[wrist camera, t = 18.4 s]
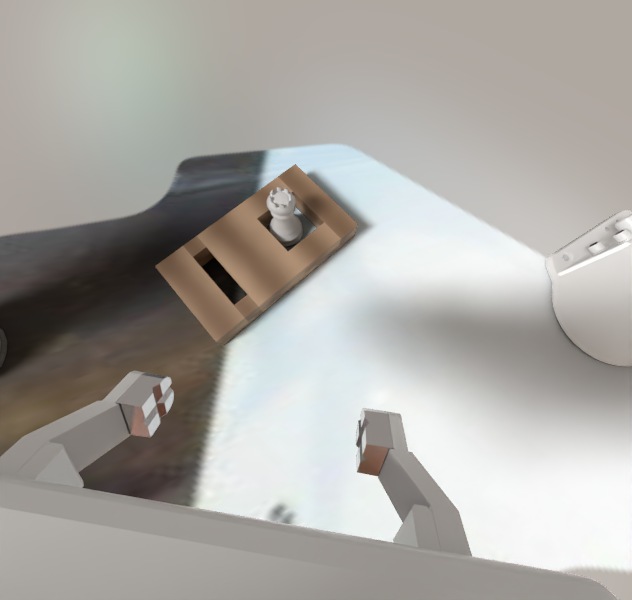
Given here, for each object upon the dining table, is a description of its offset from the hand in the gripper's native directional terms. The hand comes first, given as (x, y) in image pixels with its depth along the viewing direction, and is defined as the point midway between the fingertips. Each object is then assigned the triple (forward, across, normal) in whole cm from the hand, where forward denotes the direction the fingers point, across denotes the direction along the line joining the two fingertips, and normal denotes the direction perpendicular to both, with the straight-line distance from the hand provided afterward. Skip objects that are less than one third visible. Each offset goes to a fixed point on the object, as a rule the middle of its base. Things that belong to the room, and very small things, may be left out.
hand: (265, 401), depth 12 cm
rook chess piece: (+29, +5, +2) cm, 30 cm away
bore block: (+26, +7, +4) cm, 28 cm away
